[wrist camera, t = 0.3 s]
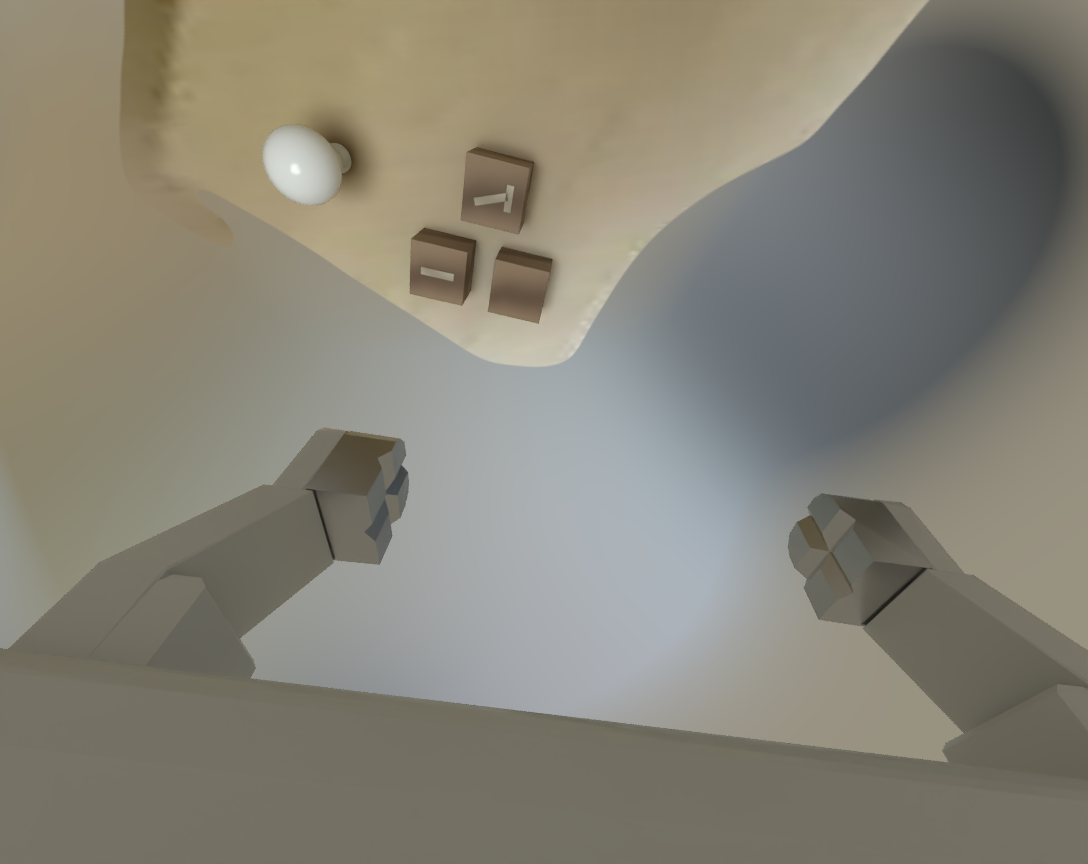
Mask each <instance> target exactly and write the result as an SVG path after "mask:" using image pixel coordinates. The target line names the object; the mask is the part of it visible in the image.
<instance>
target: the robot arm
mask: <svg viewBox="0 0 1088 864" xmlns="http://www.w3.org/2000/svg"><path fill="white" fill-rule="evenodd" d="M405 456H406V450H405V444H404V441H403V440H401V439H399V438H392V437H385V436H380V435H373V434H367V433H360V432H353V431H350V432H349V431H344V430H337V429H331V428H322V429H320V430H317V431H316V432H315V434H314V435H313V436H312V437H311V438H310V440H309V441H308V442H307V443H306V445H305V446H304V447H303V448H302V450H301V451H300V452H299V453H298V454H297V456H296V457H295V458H294V459H293V461H292V462H291V463H290V464H289V466H288V467H287V468H286V469H285V470H284V472H283V473H282V474H281V475H280V477H279V478H278V479H277V480H276V482H275V483H274V484H273V485H262V486H259V487H258V488H255V489H253V490H251V491H249V492H247V493H245V494H243V495H241V496H238V497H236V498H234V499H232V500H230V501H228V502H226V503H224V504H221V505H219V506H217V507H215V508H213V509H211V510H209V511H207V512H205V513H202V514H200V515H198V516H196V517H194V518H192V519H190V520H188V521H186V522H184V523H182V524H179V525H177V526H175V527H173V528H171V529H169V530H167V531H164V532H162V533H160V534H158V535H156V536H154V537H152V538H150V539H148V540H146V541H143V542H141V543H139V544H137V545H135V546H133V547H131V548H129V549H127V550H124V551H122V552H120V553H118V554H116V555H114V556H112V557H110V558H107V559H105V560H103V561H101V562H99V563H98V564H97V565H96V566H95V567H94V568H93V569H92V570H91V571H90V572H89V573H88V574H87V575H86V576H85V577H83V578H82V580H80V581H79V582H78V583H77V584H76V585H75V586H74V587H73V588H72V589H71V590H70V591H69V592H68V593H67V594H65V595H64V596H63V597H62V598H61V599H60V600H59V601H58V602H57V603H56V604H55V605H54V606H53V607H52V608H51V609H50V610H49V611H48V612H47V613H45V614H44V616H42V617H41V618H40V619H39V620H38V621H37V622H36V623H35V624H34V625H33V626H32V627H31V628H30V629H29V630H28V631H27V632H25V634H23V635H22V636H21V637H20V638H19V639H18V640H17V641H16V642H15V643H14V644H13V645H12V646H11V647H10V648H9V649H2V648H0V864H1088V650H1086V649H1085V648H1083V647H1082V646H1080V645H1079V644H1077V643H1076V642H1074V641H1073V640H1071V639H1070V638H1068V637H1067V636H1065V635H1064V634H1062V633H1060V632H1059V631H1057V630H1056V629H1055V628H1053V627H1051V626H1050V625H1048V624H1047V623H1045V622H1044V621H1042V620H1041V619H1039V618H1038V617H1036V616H1035V615H1033V614H1032V613H1030V612H1028V611H1027V610H1026V609H1024V608H1023V607H1021V606H1020V605H1018V604H1016V603H1015V602H1013V601H1012V600H1010V599H1009V598H1007V597H1006V596H1004V595H1003V594H1001V593H1000V592H998V591H997V590H995V589H994V588H992V587H990V586H989V585H988V584H986V583H985V582H983V581H982V580H980V579H979V578H977V577H976V576H974V575H968V574H965V573H964V572H963V571H962V570H961V569H960V567H959V566H958V565H957V564H956V562H955V561H954V560H953V559H952V558H951V556H950V555H949V554H948V553H947V552H946V551H945V549H944V548H943V547H942V546H941V545H940V543H939V542H938V541H937V540H936V538H935V537H934V536H933V535H932V533H931V532H930V531H929V530H928V529H927V527H926V526H925V525H924V524H923V523H922V521H921V520H920V519H919V518H918V516H917V515H916V514H915V513H914V512H913V510H912V509H911V508H909V507H908V506H906V505H904V504H903V503H901V502H892V501H883V500H870V499H862V498H854V497H846V496H838V495H830V494H820V495H819V496H817V497H815V498H814V499H813V500H812V502H811V503H810V504H809V506H808V511H809V515H810V516H808V517H806V518H804V519H802V520H800V521H798V522H797V523H796V524H795V526H794V528H793V529H792V531H791V532H790V535H789V543H788V549H789V555H790V558H791V561H792V563H793V565H794V568H795V569H796V570H798V571H799V572H800V573H801V574H802V575H803V576H804V577H805V578H806V579H807V580H806V584H805V586H804V589H805V591H806V593H807V596H808V598H809V600H810V602H811V604H812V606H813V608H814V610H815V613H816V615H817V617H818V619H819V620H825V621H831V622H838V623H844V624H851V625H857V626H864V628H863V629H864V630H865V631H866V632H867V633H868V635H869V636H870V637H871V638H872V639H873V640H874V641H875V642H876V643H877V644H878V645H879V646H880V647H881V648H882V649H883V650H884V651H885V652H886V653H887V654H888V655H889V656H890V657H891V658H892V659H893V660H894V661H895V662H896V663H897V664H898V665H899V666H900V668H901V669H902V670H903V671H904V672H905V673H906V674H907V675H908V676H909V677H910V678H911V679H912V680H913V681H914V682H915V683H916V684H917V685H918V686H919V687H920V688H921V689H922V690H923V691H924V692H925V693H926V695H927V696H928V697H929V698H930V699H931V700H932V701H933V702H934V703H935V704H936V705H937V706H938V707H939V708H940V709H941V710H942V711H943V712H944V713H945V714H946V715H947V716H948V717H949V718H950V719H951V720H952V721H953V722H954V724H956V725H957V727H958V728H959V729H960V730H961V731H962V732H963V733H964V734H962V735H960V736H958V737H956V738H954V739H953V740H951V741H949V742H947V743H945V746H944V748H943V750H942V751H943V753H944V755H945V756H946V758H947V760H948V762H949V763H948V762H940V761H931V760H923V759H914V758H907V757H898V756H890V755H881V754H874V753H864V752H857V751H848V750H841V749H832V748H824V747H816V746H807V745H799V744H791V743H782V742H774V741H766V740H758V739H750V738H741V737H733V736H725V735H716V734H708V733H700V732H691V731H683V730H675V729H667V728H659V727H650V726H642V725H634V724H625V723H617V722H609V721H601V720H592V719H584V718H576V717H567V716H559V715H551V714H542V713H534V712H526V711H517V710H509V709H501V708H493V707H485V706H476V705H468V704H459V703H451V702H443V701H434V700H426V699H417V698H410V697H401V696H392V695H385V694H377V693H368V692H360V691H351V690H342V689H335V688H327V687H318V686H310V685H301V684H293V683H284V682H277V681H268V680H260V679H252V678H251V676H252V674H253V672H254V670H255V664H254V661H253V659H252V657H251V655H250V654H249V652H248V651H247V649H246V647H245V646H244V644H243V643H242V641H241V640H240V638H241V637H242V636H243V635H244V634H246V633H247V632H248V631H250V630H251V629H252V628H253V627H255V626H256V625H257V624H258V623H259V622H261V621H262V620H263V619H264V618H266V617H267V616H268V615H269V614H271V613H272V612H273V611H274V610H276V609H277V608H278V607H279V606H280V605H282V604H283V603H284V602H286V601H287V600H288V599H289V598H290V597H292V596H293V595H294V594H295V593H297V592H298V591H299V590H300V589H301V588H303V587H304V586H305V585H307V584H308V583H309V582H310V581H312V580H313V579H314V578H315V577H317V576H318V575H319V574H320V573H321V572H323V571H324V570H325V569H326V568H327V567H329V566H330V565H331V564H333V560H338V561H348V562H358V563H369V564H380V563H381V560H382V558H383V556H384V554H385V551H386V549H387V547H388V545H389V542H390V540H391V538H392V531H391V524H392V523H393V522H395V521H396V520H398V519H399V518H400V517H401V515H402V512H403V510H404V507H405V504H406V499H407V495H408V486H409V478H408V472H407V470H406V469H405V468H404V467H403V466H402V463H403V461H404V459H405Z"/></svg>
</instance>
